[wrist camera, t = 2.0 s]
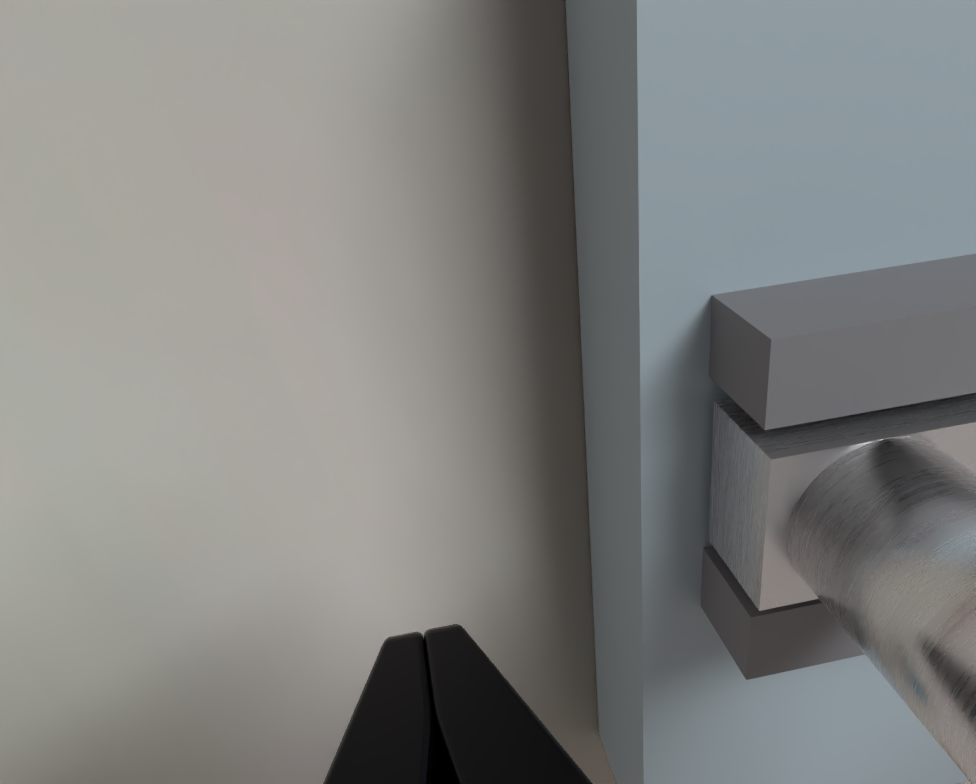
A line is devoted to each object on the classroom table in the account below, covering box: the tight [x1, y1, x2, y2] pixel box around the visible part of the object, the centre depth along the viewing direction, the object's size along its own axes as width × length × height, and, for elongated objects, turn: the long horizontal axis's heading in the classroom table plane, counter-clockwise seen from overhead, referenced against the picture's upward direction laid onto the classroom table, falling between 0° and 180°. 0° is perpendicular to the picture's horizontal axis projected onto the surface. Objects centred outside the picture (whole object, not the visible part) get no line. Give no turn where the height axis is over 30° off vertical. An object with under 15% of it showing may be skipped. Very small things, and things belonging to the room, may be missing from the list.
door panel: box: [566, 0, 976, 784], centre depth 13 cm, size 10×18×5 cm, turn 6°
